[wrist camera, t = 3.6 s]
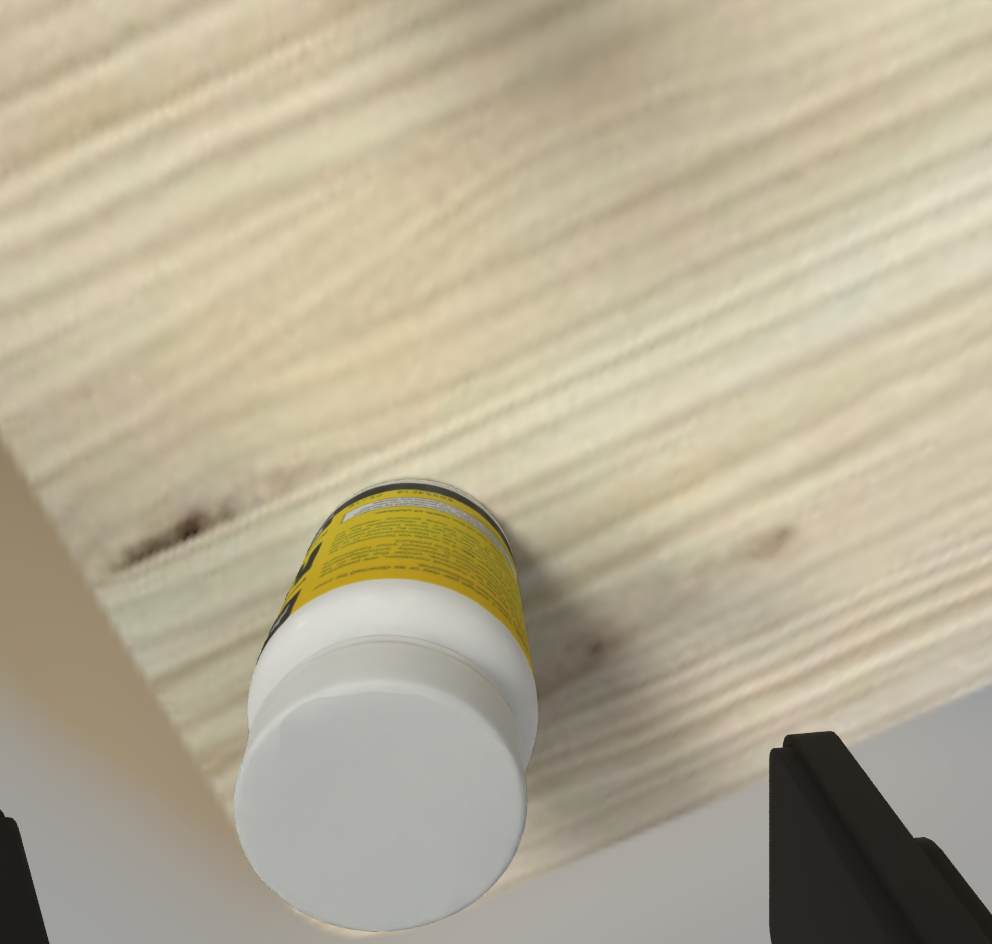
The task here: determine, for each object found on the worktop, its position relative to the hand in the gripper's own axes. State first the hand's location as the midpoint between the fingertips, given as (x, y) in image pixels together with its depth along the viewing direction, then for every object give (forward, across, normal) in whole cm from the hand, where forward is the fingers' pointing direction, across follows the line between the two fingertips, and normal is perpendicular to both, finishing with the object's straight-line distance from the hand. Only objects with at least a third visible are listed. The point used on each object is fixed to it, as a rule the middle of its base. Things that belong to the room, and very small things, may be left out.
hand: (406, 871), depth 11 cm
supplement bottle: (+10, 0, 0) cm, 10 cm away
